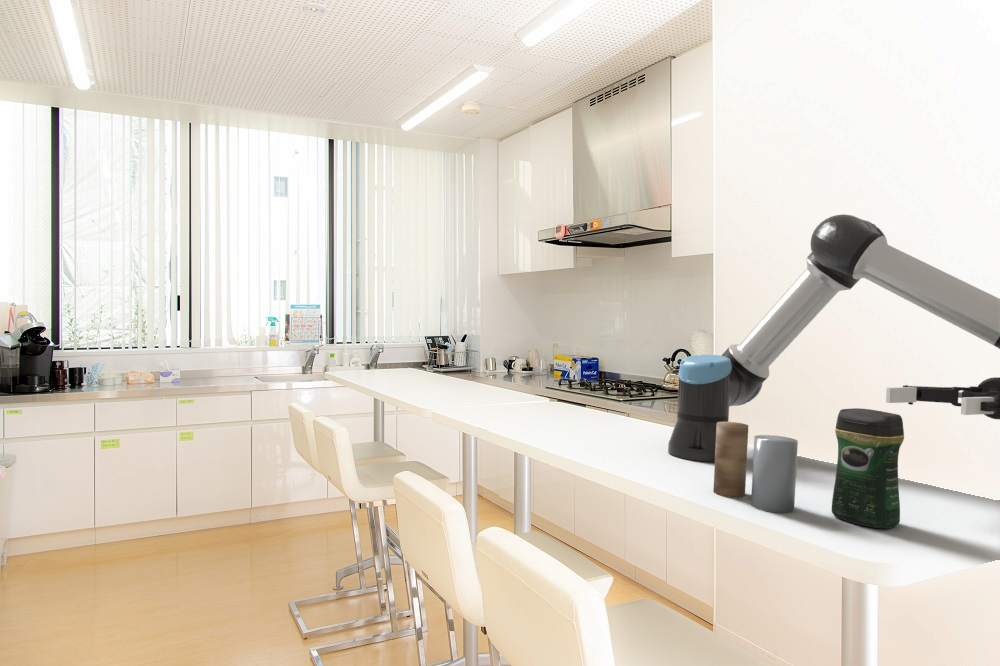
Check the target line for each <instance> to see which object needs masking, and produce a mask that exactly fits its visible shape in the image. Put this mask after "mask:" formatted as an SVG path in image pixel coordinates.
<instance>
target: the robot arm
mask: <svg viewBox="0 0 1000 666" xmlns="http://www.w3.org/2000/svg"><path fill="white" fill-rule="evenodd" d="M810 251H811V252H810V253H809V254H808V256H807V257H806V269H805V270H804V271H803V272H802V273H801V275H799V276H798V278H797V279H795V281H794V282H793V283H792V284H791V285H790V287H788V288H787V290H786V291H785V292H784V293H783V295H782V296H781V297H779V299H778V300H777V301H776V302H775V303H774V305H773V306H772V307H771V308H770V310H768V311H767V313H765V315H764V316H763V317H762V318H761V319H760V321H759V322H758V323H757V324H755V326H754V328H753V329H752V330H751V331H749V333H748V334H747V336H745V338H744V339H743V340H742V341H741V342H740V343H739V344H737V343H735V344H730V345H729V347H727V349H725V351H724V352H723V353H722V354H721V355H720V354H719V355H718V354H700V355H698V354H695V355H690V356H686V357H684V358H682V359H681V361H680V363H679V370H678V374H677V375H678V383H677V384H678V387H677V388H678V389H677V414H676V415H677V417H676V422H675V425H674V428H673V429H672V432H671V436H670V439H669V441H668V447H667V448H668V449H667V452H668V453H669V454H670V455H672V456H675V457H676V458H677V457H678V458H681V459H685V460H692V461H699V462H709V463H710V462H713V463H715V447H716V426H717V422H729V419H730V417H729V416H730V414H729V413H730V407H738V406H741V405H745V404H747V403H749V402H751V401H752V400H754V399H755V398H756V397H757V396H758V395H759V393H760V392H761V390H762V387H763V384H764V382H765V381H766V380H767V379H768V378H769V376H770V366H771V365H772V364H773V363H774V362H775V361H776V359H778V358H779V356H780V355H782V353H784V351H785V350H786V349H787V348H788V347H789V346H790V345H791V343H793V341H795V339H796V338H797V337H799V335H800V334H801V333H802V332H803V331H804V330H805V328H806V327H807V326H808V325H810V323H811V322H812V321H813V320H814V319H815V318H816V317H817V315H818V314H819V313H820V312H821V311H822V310H824V308H825V307H826V306H827V305H828V304H829V303H830V302H831V301H832V299H833V298H834V297H835V296H837V294H838V293H839V292H841V291H849V290H851V289H852V288H853V287H854V286H855V285H856V284H858V282H860V280H861V279H866V280H868V281H870V282H872V283H873V284H875V285H877V286H879V287H881V288H883V289H885V290H886V291H889V292H890V293H892V294H895V295H896V296H898V297H900V298H902V299H904V300H906V301H908V302H909V303H912V304H914V305H915V306H917V307H919V308H921V309H923V310H925V311H926V312H929V313H930V314H932V315H935V316H936V317H938V318H941V319H942V320H944V321H946V322H948V323H950V324H952V325H954V326H955V327H958V328H960V329H961V330H963V331H965V332H967V333H969V334H971V335H973V336H975V337H977V338H978V339H980V340H982V341H984V342H986V343H988V344H990V345H992V346H994V347H995V348H997V349H999V350H1000V298H999V297H997V296H995V295H993V294H991V293H989V292H986V291H984V290H983V289H980V288H978V287H976V286H974V285H972V284H970V283H968V282H966V281H964V280H962V279H959V278H958V277H956V276H953V275H952V274H950V273H947V272H945V271H943V270H941V269H939V268H937V267H936V266H933V265H931V264H929V263H926V261H925V262H924V261H922V260H920V259H918V258H916V257H914V256H912V255H910V254H908V253H906V252H904V251H902V250H900V249H898V248H896V247H894V246H892V245H889V244H888V240H887V236H886V235H885V234H884V232H883V231H882V229H881V228H879V227H877V225H876V224H874V223H872V222H871V221H868V220H864V219H862V218H859V217H857V216H855V215H851V214H843V213H842V214H837V215H832V216H830V217H827V218H825V219H824V220H823V221H821V222H820V223H819V224H818V225H817V226H816V227H815V229H814V230H813V232H812V234H811V239H810ZM885 393H886V395H885V403H886V404H887V403H888V404H898V403H900V404H901V403H902V404H904V403H907V404H908V405H911V406H913V404H914V403H917V402H925V403H926V402H929V403H941V404H942V403H945V404H951V405H952V406H955V407H960V415H963V416H973V415H974V416H975V415H984V416H986V417H988V419H989V418H990V419H993V420H1000V377H996V376H995V377H990V378H986V379H984V380H982V381H981V382H980V383H979V384H978V386H973V385H972V386H969V387H968V386H967V387H966V386H965V387H964V386H963V387H961V386H950V387H947V386H945V387H944V386H918V385H908V384H905V385H902V386H900V387H897V386H896V387H895V386H894V387H886V390H885ZM960 398H961V401H960V402H959V399H960Z"/></svg>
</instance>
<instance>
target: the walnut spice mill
mask: <svg viewBox="0 0 1000 666" xmlns="http://www.w3.org/2000/svg"><path fill="white" fill-rule="evenodd" d="M748 438H749V425H748V424H745V423H742V422H736V421H728V422H717V426H716V447H715V462H714V473H713V490H712V491H713V493H714V494H715V493H716V494H715V495H719V496H721V497H725V496H726V497H727V498H743V497H745V496H746V482H747V481H746V480H747V464H748V463H747V462H748V459H747V458H748V446H749V445H748V444H749V443H748V441H749V439H748Z"/></svg>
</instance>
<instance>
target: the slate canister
mask: <svg viewBox="0 0 1000 666" xmlns="http://www.w3.org/2000/svg"><path fill="white" fill-rule="evenodd" d="M753 439H754V440H753V456H752V457H753V459H752V461H753V462H752V478H751V480H752V481H751V497H750V498H751V500H750V501H751V502H750V505H751V507H753V508H755V509H757V510H761V511H764V512H769V513H774V514H775V513H776V514H789V513H793V512H794V511H795V504H796V503H795V501H796V499H795V498H796V482H797V480H796V479H797V466H798V464H797V462H798V461H797V460H798V448H799V447H798V445H799V444H798V443H799V442H798V439H795V438H792V437H788V436H782V435H781V436H780V435H771V434H759V435H758V434H757V435H754V438H753Z"/></svg>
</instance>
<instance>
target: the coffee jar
mask: <svg viewBox="0 0 1000 666" xmlns="http://www.w3.org/2000/svg"><path fill="white" fill-rule="evenodd" d="M836 419H837V420H836V424H835V429H834V430H835V431H834V432H835V436H836V439H837V445H838V446H837V463H836V473H835V479H834V485H833V493H832V500H831V513H832V514H833V516H834V517H836V518H838V519H841V520H844V521H846V522H850V523H853V524H856V525H859V526H864V527H868V528H874V529H875V528H877V529H878V528H883V529H886V530H887V529H891V528H894V527H896V526H897V525H899V524H900V521H901V506H900V505H901V504H900V503H901V502H900V490H899V454H900V450H901V449H900V448H901V447H902V444H903V442H904V439H905V435H904V434H905V430H904V422H903V417H902V416H901V415H900V414H897V413H893V412H887V411H882V410H875V409H871V408H870V409H869V408H858V407H857V408H856V407H855V408H842V409H840V411H839V412H838V415H837V418H836Z"/></svg>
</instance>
